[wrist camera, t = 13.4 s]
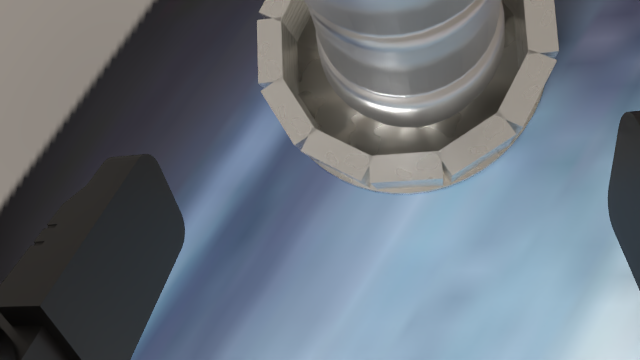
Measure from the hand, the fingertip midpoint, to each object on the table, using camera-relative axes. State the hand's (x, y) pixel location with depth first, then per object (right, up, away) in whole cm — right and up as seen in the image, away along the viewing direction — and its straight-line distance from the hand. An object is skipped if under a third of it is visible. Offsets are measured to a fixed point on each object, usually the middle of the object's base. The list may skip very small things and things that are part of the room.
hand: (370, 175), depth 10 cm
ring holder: (+3, +5, +13) cm, 14 cm away
